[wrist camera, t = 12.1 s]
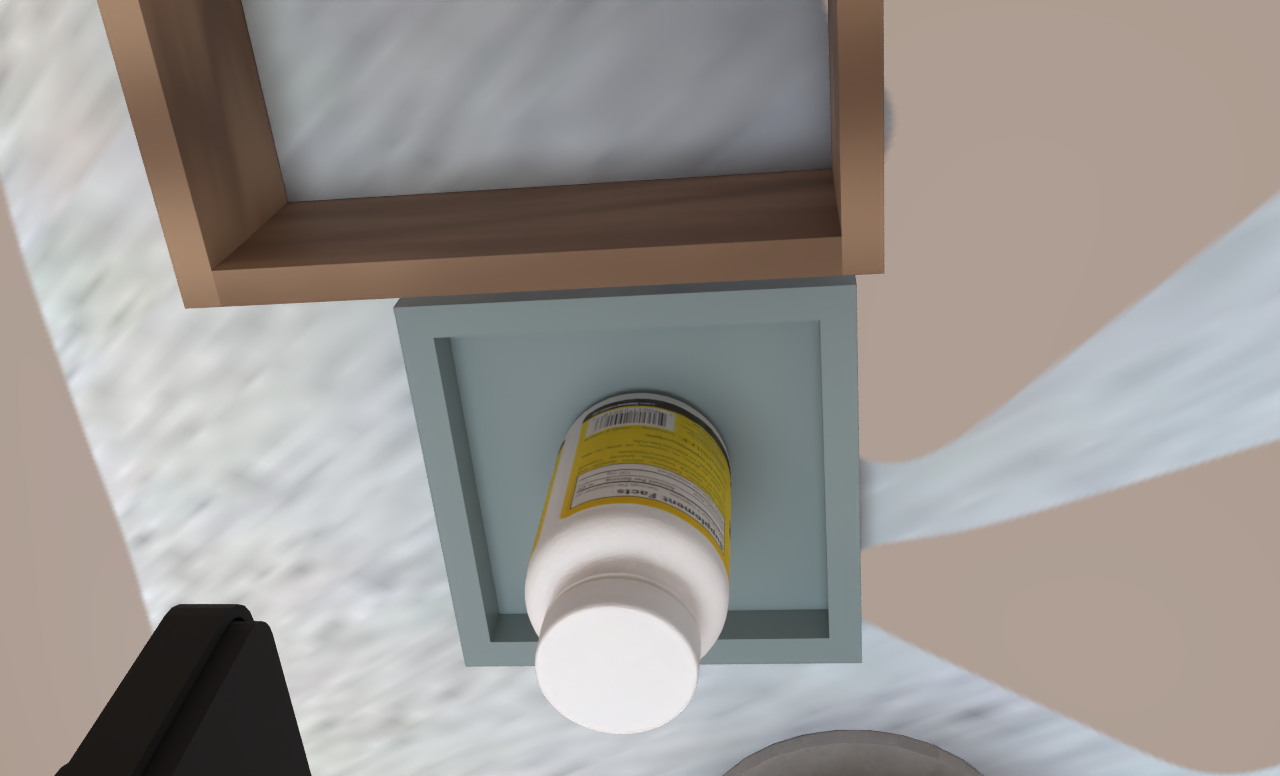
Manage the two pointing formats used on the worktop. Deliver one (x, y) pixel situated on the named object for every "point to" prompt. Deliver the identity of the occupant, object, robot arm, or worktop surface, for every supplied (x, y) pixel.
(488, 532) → the tray
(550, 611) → the supplement bottle
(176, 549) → the worktop surface
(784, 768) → the mate gourd
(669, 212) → the holder
